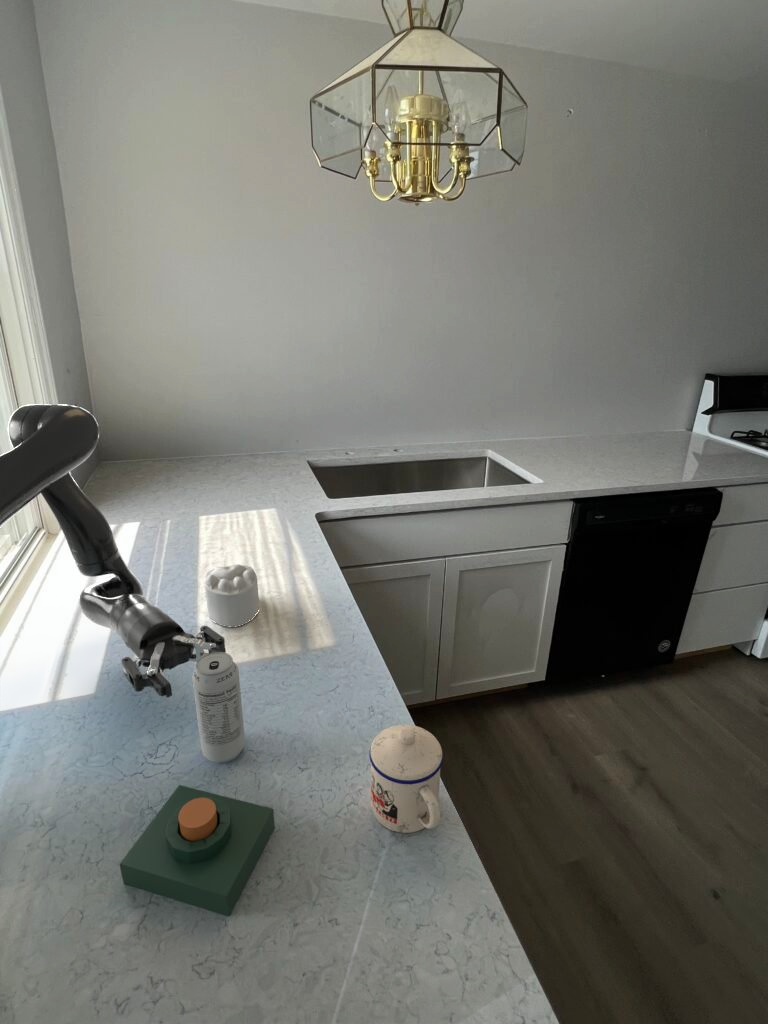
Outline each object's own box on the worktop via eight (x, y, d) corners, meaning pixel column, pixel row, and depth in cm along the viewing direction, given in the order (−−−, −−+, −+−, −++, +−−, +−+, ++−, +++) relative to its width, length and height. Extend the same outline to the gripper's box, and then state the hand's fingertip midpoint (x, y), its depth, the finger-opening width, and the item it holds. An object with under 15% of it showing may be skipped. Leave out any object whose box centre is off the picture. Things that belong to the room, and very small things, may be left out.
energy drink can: (246, 732, 83) (238, 647, 78) (244, 763, 78) (235, 674, 72) (204, 737, 82) (194, 651, 77) (199, 769, 77) (187, 678, 71)
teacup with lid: (357, 791, 73) (357, 720, 69) (417, 767, 77) (420, 699, 73) (400, 869, 63) (403, 792, 59) (466, 837, 67) (473, 763, 63)
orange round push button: (173, 836, 62) (171, 823, 61) (193, 807, 65) (191, 794, 65) (205, 845, 61) (203, 831, 60) (224, 815, 65) (222, 801, 64)
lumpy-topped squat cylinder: (255, 592, 123) (252, 557, 120) (263, 622, 112) (260, 584, 109) (206, 600, 120) (202, 563, 117) (209, 631, 108) (205, 592, 105)
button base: (123, 884, 61) (116, 851, 60) (182, 803, 71) (177, 773, 70) (229, 917, 58) (225, 883, 57) (275, 827, 68) (272, 797, 66)
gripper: (100, 629, 85) (145, 678, 74) (188, 597, 94) (239, 636, 83) (108, 670, 87) (152, 723, 77) (193, 635, 97) (243, 678, 86)
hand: (198, 678), depth 80 cm, fingers open, 8 cm apart
